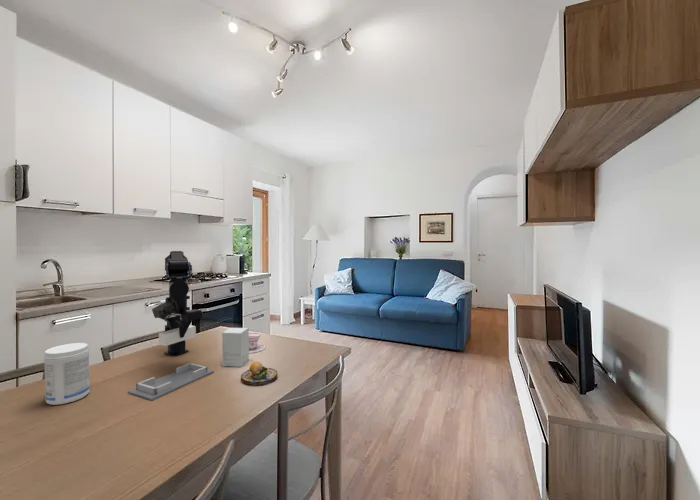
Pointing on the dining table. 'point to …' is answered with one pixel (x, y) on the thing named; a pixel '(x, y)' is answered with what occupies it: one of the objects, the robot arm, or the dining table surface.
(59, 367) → the supplement tub
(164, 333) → the slat
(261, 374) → the burger
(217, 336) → the dining table surface
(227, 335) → the supplement box
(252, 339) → the teacup
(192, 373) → the grey bracket base
